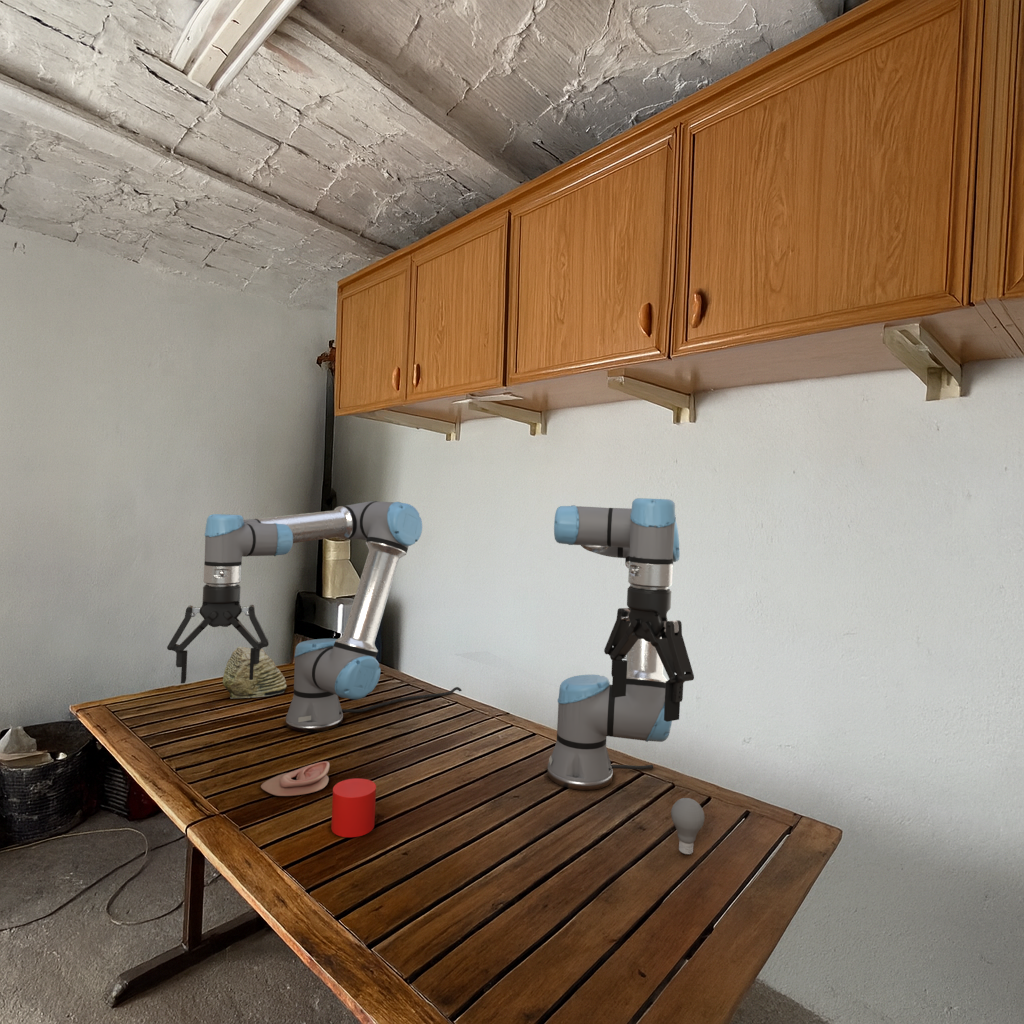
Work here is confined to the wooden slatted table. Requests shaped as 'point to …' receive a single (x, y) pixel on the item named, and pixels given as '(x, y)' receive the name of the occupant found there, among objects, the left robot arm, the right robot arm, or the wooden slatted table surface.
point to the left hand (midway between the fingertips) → (217, 680)
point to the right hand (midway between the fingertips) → (643, 707)
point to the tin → (353, 807)
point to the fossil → (264, 676)
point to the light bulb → (687, 822)
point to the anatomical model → (299, 780)
